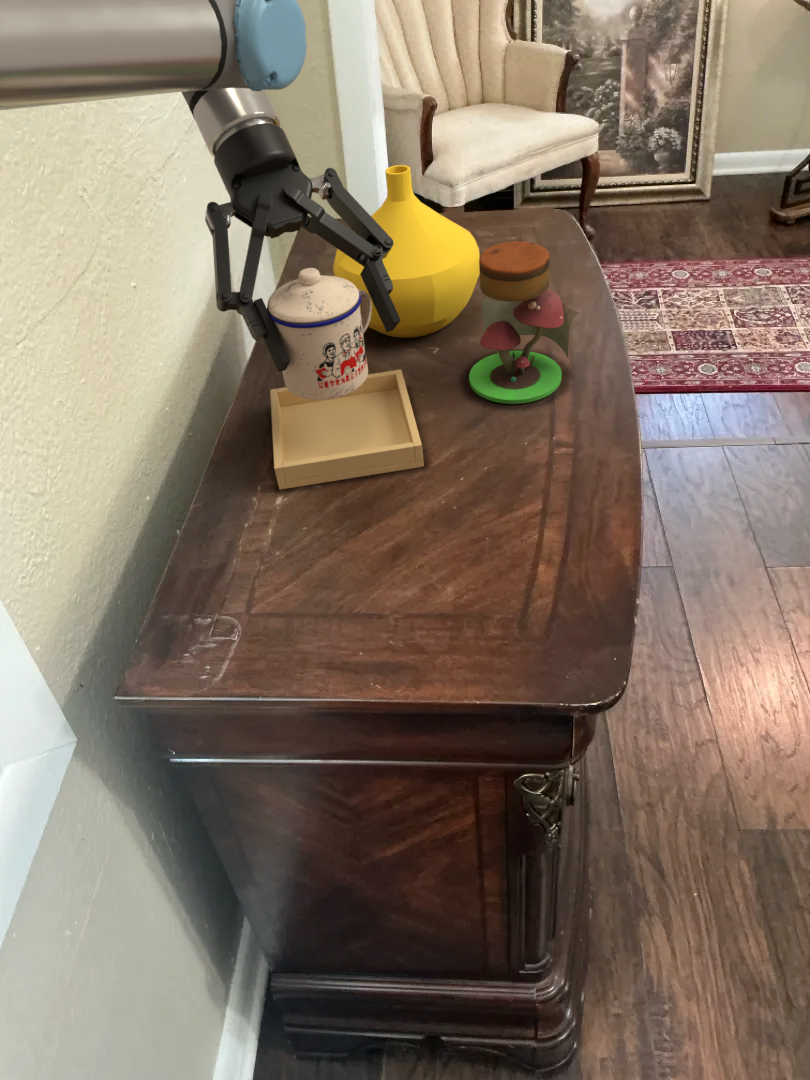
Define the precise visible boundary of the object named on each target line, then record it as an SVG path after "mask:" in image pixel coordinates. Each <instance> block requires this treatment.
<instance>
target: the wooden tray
mask: <svg viewBox="0 0 810 1080" xmlns="http://www.w3.org/2000/svg"><path fill="white" fill-rule="evenodd" d="M269 390H270V391H269V393H270V415H271V431H272V433H271V435H272V452H273V453H272V454H273V469H274V473H275V477H276V482H277V486H278V490H279V491H280V490H286V489H293V488H299V487H305V486H312V485H317V484H324V483H325V484H326V483H330V482H336V481H337V482H338V481H343V480H350V479H354V478H362V477H367V476H373V475H380V474H386V473H392V472H398V471H406V470H411V469H418V468H423V467H425V464H424V454H423V453H424V452H423V444H422V440H421V437H420V432H419V429H418V426H417V421H416V418H415V415H414V411H413V407H412V404H411V399H410V396H409V392H408V389H407V384H406V381H405V378H404V374H403V370H402V369H394V370H387V371H381V372H375V373H368V375H367V378H366V380H365V382H364V383H363V384H362V385H361V386H360V387H359V388H358V389H356V390H355V391H353V392H351V393H350V394H347V395H345V396H342V397H339V398H335V399H330V400H308V399H304V398H300V397H298V396H296V395H294V394H292V393H291V392H290V391H289V390H288V389H287V387H286V386H284V387H278V388H272V389H269Z"/></svg>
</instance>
